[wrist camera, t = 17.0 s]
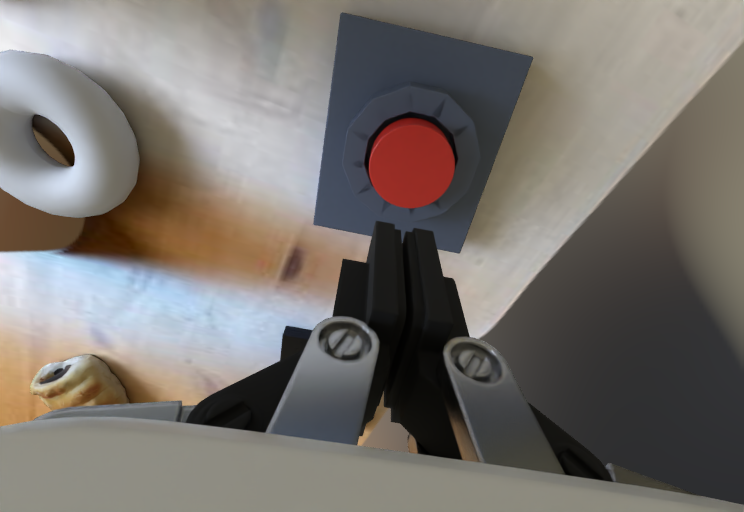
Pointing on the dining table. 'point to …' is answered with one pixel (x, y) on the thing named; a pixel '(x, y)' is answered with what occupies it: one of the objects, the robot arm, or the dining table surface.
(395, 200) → the stop button
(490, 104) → the button housing
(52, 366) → the pastry
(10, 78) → the donut
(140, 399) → the dining table surface
